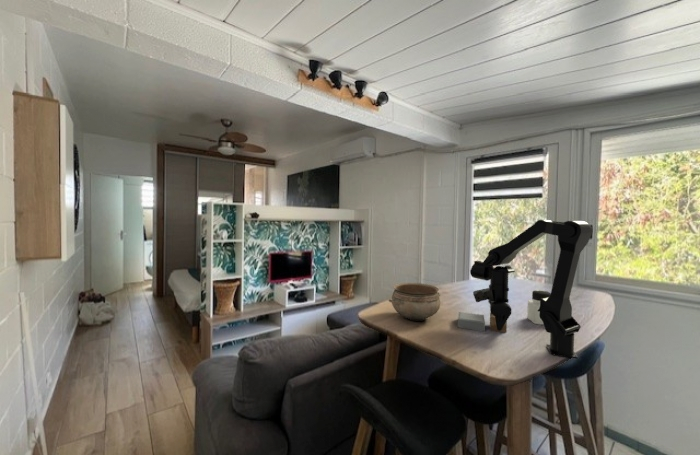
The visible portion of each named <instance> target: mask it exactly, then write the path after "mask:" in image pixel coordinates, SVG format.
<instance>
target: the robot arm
mask: <svg viewBox="0 0 700 455" xmlns="http://www.w3.org/2000/svg"><path fill="white" fill-rule="evenodd" d="M593 233H594V232H593V227H592V225H590V224H589V223H588V222H587V221H584V220H567V221H564V222H563V221H556V220H555V221H553V220H549V219H539V220H537V221H535V223H533V224H532V225H531V226H529V227H528V228H526V229H525V230H524V231H522V232H520V234H518V235H517V236H515V237H514V238H513V239H511V240H509V241H508V242H506V243H504V244H501V245H498V246H496V247H494V248H492V249H490V250H489V251H488V253H487V256H486V258H485V259H484V260H483V261H481V260H474V261H473V262H474V263H473V264H472V266H471V268H470V271H469V272H470V276H471V277H472V278H474V279H477V280H483V281H489V282H490V283H489V284H488V287H487V288H482V289H477V290H474V291H473V292H472V293H473V294H472V295H473V297H474V300H475V302H476V303H481V302H483V301H488V304H489V313H491V314H493V315H494V316H495V319H496V325H497V330H498V331H497V332H499V331H501V330H502V328H503V326H504V324H505V323H506V321H507V322H508V319H509V318H510V316H512V307H511V306H510V304H509V291H510V289H509V274H511V273H516V272H515V269H514V268H513V267H512V266H511V265H508V264H510V263H511V262H512V261H513V260H514V259H515V258H516V257H517V255H518V254H519V253H520V252H521V251H522V250H524V249H526V248H527V247H528V246H530V245H531V244H533V243H534V242H536V241H537V240H539V239H541V238H542V237H544V236H545V235H552V236H557V242H558V245H559V246H558V247H559V256H558V260H557V264H556V268H555V273H554V278H553V283H552V286H551V289H550V290H551V291H550V293H551V294H550V296H549V297H548V298H543V299H541V301H540V308H539V309H538V312H539V311H540V313H539V316H540V319H541V320H542V321H543V323H544V325H543V326H544V329H545V332H546V333H548V334H550V337H549V344H547V343H546V345H545V347H546V348H547V350H548V351H549V354H551V356H559V357H565V358H572V359H579V356H578V355H577V353H576V352H575V351H574V350H575V334H576V333H579V331H580V329H581V328H582V326H581V325H580V323H579V322H578V321H577V320H576V319H575V318H574V316H573V312H572V311H573V306H572V304H571V301H570V296H571V292H572V289H573V284H574V280H575V276H576V272H577V269H578V263H579V259H580V255H581V253H582V251H583V250H584V249H585V248H586V246H587V245H588V244H589V241H590V240H591V237H592V235H593ZM502 265H504V266H502Z"/></svg>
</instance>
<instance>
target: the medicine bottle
mask: <svg viewBox="0 0 700 455" xmlns="http://www.w3.org/2000/svg"><path fill="white" fill-rule="evenodd" d="M531 292H532V293H531V294H532V295H531V300H527V310H526V312H527V316H526V317H527V319H528V320H529V321H530V322H532V323H533V324H534V325H541V326H542V325H543V326H544V323H543V321H542V320H541V319H540V316H539V313H540V311H539V312H538V309H539V308H540V301H541V299H543V298H548V297H549V296H550V294H551V292H549V291H547V290H543V289H535V290H533V291H531Z"/></svg>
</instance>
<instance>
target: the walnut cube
mask: <svg viewBox="0 0 700 455" xmlns="http://www.w3.org/2000/svg"><path fill="white" fill-rule="evenodd" d="M507 324H508V320H507V321H506V323H505V324H504V326H503V328H502V330H501V331H498V330H497V325H496V319H495V316H494V315H493V314H491V312H489V328H490V331H492V332H493V331H494V332H499V333H507V328H508V327H507V326H508V325H507Z"/></svg>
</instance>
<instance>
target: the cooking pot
mask: <svg viewBox="0 0 700 455" xmlns="http://www.w3.org/2000/svg"><path fill="white" fill-rule="evenodd" d="M393 289H394V291H393V293H392V296H391V298H389V299H388V302H389V303H391V305H392V307H393V309H394V311H396V312H397V313H398V314H399V315H401V316H403V317H404V318H406V319H407V318H408V319H407V320H409V319H410V320H409V321H412V320H415V321H414V322H421V321H420V320H422V321H424V320H427V319H428V318H431V317H433V316H434V315H436V314H437V313H438V312H439V310H440V308H441V299H440V297H441V293H440V292H438V291H439V290H440V289H439V287H437V286H435V285H432V284H427V283H421V282H401V283H397V284H394V285H393Z"/></svg>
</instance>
